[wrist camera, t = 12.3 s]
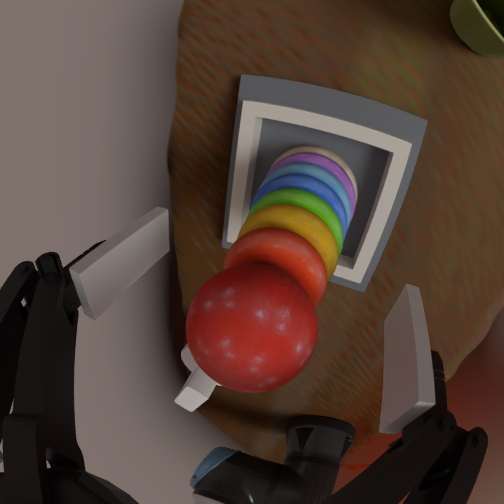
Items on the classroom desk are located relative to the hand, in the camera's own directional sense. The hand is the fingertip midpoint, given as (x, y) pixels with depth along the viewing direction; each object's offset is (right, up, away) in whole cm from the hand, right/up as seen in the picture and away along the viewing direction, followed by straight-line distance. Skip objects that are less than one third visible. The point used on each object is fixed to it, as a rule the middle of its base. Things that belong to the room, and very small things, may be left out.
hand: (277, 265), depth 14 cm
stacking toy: (+4, +6, +10) cm, 12 cm away
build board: (+5, +7, +11) cm, 14 cm away
